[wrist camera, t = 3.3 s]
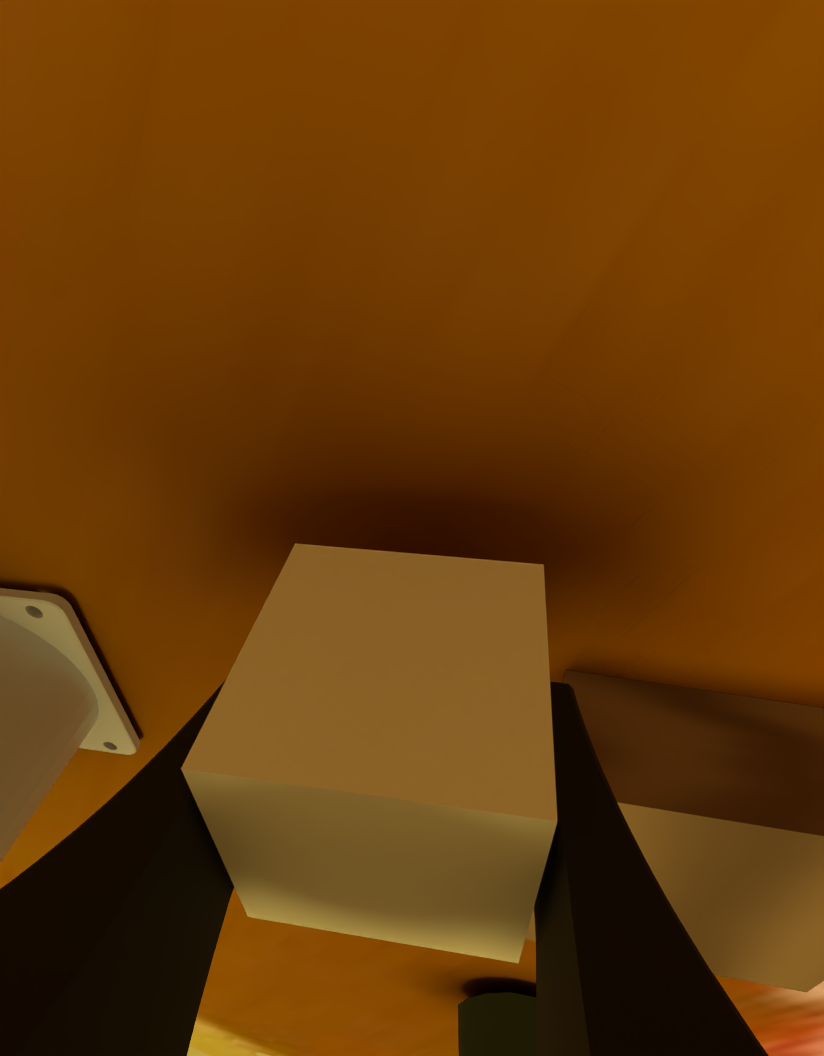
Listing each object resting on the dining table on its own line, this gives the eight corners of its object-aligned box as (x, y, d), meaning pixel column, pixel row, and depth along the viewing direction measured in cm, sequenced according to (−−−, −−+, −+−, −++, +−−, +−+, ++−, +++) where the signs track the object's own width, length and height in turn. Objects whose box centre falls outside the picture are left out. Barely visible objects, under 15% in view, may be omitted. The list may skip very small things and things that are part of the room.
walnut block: (516, 816, 22) (516, 937, 19) (565, 661, 16) (576, 795, 13) (763, 857, 21) (806, 992, 18) (899, 709, 16) (997, 864, 12)
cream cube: (321, 696, 15) (248, 916, 11) (295, 543, 12) (180, 769, 8) (518, 720, 14) (518, 963, 10) (543, 564, 11) (557, 821, 7)
